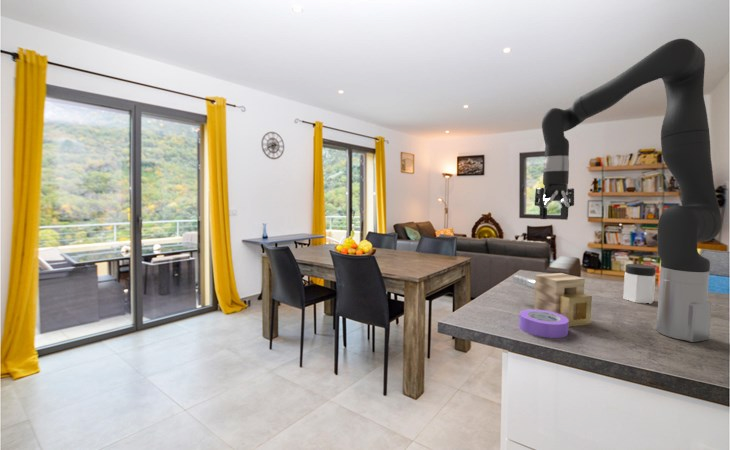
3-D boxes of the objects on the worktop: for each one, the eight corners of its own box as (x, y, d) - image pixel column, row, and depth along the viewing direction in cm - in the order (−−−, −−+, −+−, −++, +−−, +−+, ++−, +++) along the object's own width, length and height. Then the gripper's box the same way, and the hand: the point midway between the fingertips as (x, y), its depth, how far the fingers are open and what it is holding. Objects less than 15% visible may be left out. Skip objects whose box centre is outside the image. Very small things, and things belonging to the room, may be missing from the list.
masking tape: (570, 328, 95) (571, 314, 95) (564, 342, 86) (565, 327, 86) (524, 319, 102) (524, 306, 102) (514, 331, 93) (514, 317, 93)
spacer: (590, 324, 98) (591, 295, 98) (567, 326, 96) (569, 298, 96) (581, 320, 101) (582, 293, 101) (558, 323, 99) (560, 295, 98)
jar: (651, 305, 116) (653, 269, 115) (621, 300, 122) (623, 266, 121) (655, 300, 122) (657, 266, 121) (626, 295, 128) (628, 262, 127)
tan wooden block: (582, 319, 102) (584, 278, 101) (554, 322, 99) (556, 280, 98) (560, 311, 110) (561, 273, 109) (533, 313, 107) (535, 274, 106)
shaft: (565, 297, 103) (566, 287, 103) (557, 298, 102) (558, 288, 102) (520, 282, 121) (520, 274, 121) (512, 283, 120) (513, 274, 120)
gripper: (547, 169, 112) (545, 219, 113) (582, 170, 116) (579, 219, 117) (530, 170, 119) (528, 218, 120) (563, 171, 123) (561, 218, 124)
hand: (553, 219), depth 119 cm, fingers open, 8 cm apart
